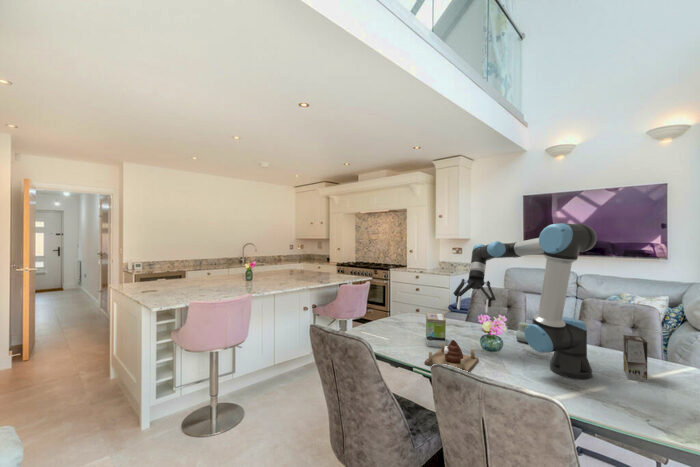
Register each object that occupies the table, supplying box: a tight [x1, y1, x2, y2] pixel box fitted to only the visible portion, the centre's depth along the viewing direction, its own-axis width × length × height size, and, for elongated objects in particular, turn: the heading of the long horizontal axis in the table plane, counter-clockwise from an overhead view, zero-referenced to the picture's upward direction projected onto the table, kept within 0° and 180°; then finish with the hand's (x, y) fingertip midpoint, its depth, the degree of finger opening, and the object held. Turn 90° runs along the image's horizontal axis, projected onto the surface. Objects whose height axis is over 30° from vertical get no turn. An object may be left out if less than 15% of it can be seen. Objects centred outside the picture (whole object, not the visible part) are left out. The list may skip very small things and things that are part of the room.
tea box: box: [425, 312, 447, 348], centre depth 178 cm, size 15×10×15 cm, turn 168°
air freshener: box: [515, 321, 530, 344], centre depth 179 cm, size 11×8×10 cm
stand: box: [424, 343, 480, 373], centre depth 149 cm, size 19×19×6 cm
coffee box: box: [622, 334, 648, 383], centre depth 133 cm, size 9×6×16 cm
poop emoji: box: [444, 339, 463, 363], centre depth 149 cm, size 10×8×9 cm
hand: (472, 310), depth 160 cm, fingers open, 13 cm apart
